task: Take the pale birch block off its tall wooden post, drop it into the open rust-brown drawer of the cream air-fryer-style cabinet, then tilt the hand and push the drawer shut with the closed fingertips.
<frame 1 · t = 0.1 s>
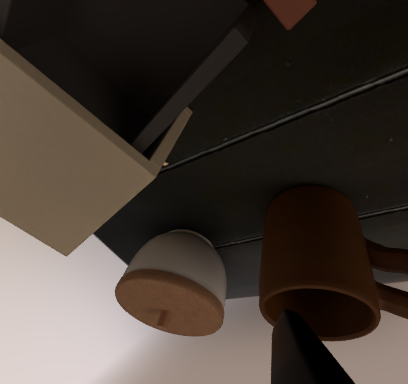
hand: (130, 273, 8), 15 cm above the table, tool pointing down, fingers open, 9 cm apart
mug: (335, 211, 24), on the table
trinket box: (189, 245, 33), on the table
cabinet: (90, 114, 23), on the table
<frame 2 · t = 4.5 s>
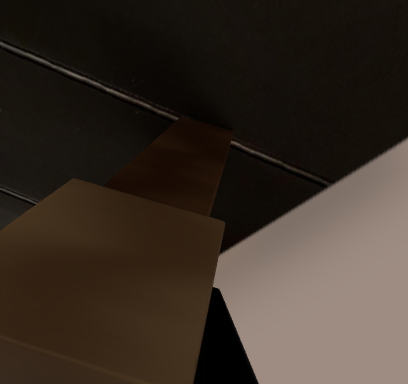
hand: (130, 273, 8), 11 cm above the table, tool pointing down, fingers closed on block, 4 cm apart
block: (140, 257, 9), point 10 cm above the table, touching gripper, post
post: (201, 149, 18), on the table
when the fingers open (8 cm above the table, at t = 8.8 s): block drops 5 cm, resting on drawer.
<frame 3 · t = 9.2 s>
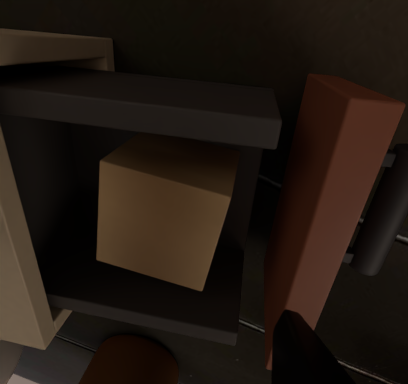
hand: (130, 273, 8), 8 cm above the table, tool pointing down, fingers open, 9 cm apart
mug: (161, 368, 26), on the table
block: (184, 180, 14), point 2 cm above the table, touching drawer
drawer: (211, 205, 12), point 4 cm above the table, slide at 9.0 cm, touching block
cabinet: (13, 138, 17), on the table
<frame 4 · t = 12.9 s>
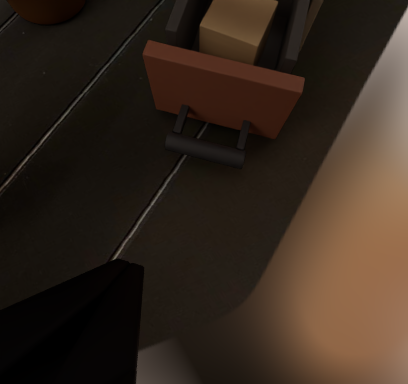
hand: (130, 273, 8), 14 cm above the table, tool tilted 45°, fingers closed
mug: (34, 11, 28), on the table
block: (232, 58, 24), point 2 cm above the table, touching drawer
drawer: (231, 56, 22), point 4 cm above the table, slide at 9.0 cm, touching block
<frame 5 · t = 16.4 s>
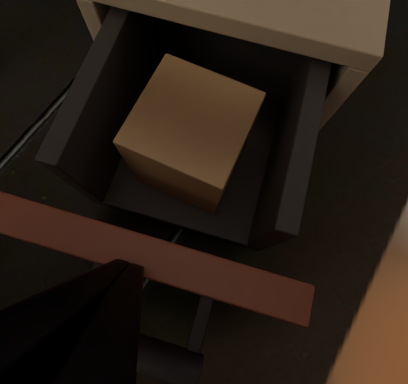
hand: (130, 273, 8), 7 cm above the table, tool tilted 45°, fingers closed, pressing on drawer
block: (193, 161, 15), point 2 cm above the table, touching drawer
drawer: (183, 177, 12), point 4 cm above the table, slide at 7.9 cm, touching block, gripper
cabinet: (235, 45, 19), on the table
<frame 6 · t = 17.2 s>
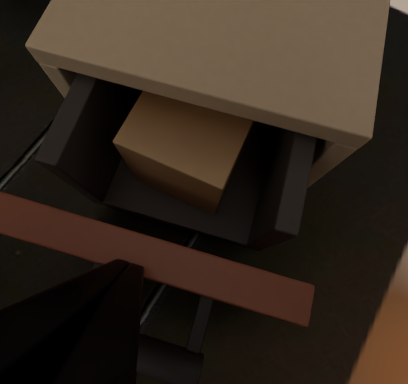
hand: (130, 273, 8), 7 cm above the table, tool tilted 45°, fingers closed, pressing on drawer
block: (193, 161, 15), point 2 cm above the table, touching drawer
drawer: (183, 177, 12), point 4 cm above the table, slide at 4.7 cm, touching block, gripper
cabinet: (223, 83, 19), on the table
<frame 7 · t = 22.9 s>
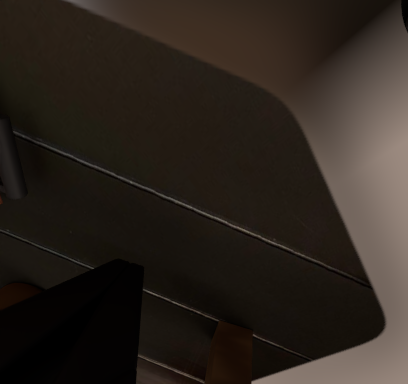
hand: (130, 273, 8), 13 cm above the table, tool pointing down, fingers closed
mug: (51, 313, 32), on the table
post: (231, 335, 28), on the table
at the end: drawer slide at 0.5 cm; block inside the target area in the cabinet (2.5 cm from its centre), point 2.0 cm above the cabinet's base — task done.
